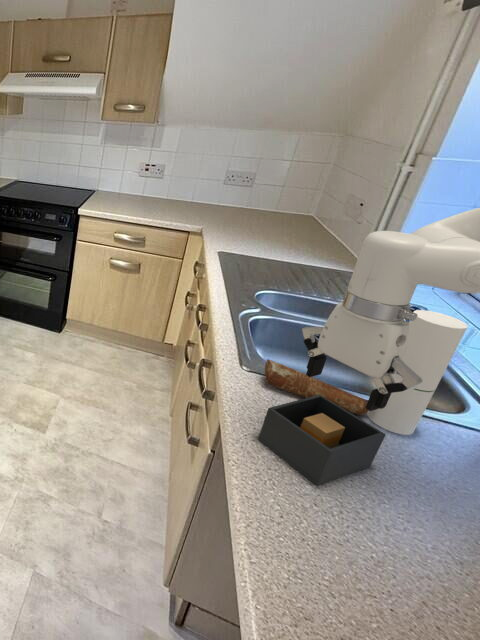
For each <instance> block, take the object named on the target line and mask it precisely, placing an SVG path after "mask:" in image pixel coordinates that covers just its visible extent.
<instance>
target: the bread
mask: <svg viewBox="0 0 480 640" xmlns="http://www.w3.org/2000/svg"><path fill="white" fill-rule="evenodd" d="M264 376H265V380H264V381H265V383H266V384H268V385H270V386H271V387H274V388H276V389H279V390H281V391H285V392H287V393H291V394H294V395H296V396H300V397H303V398H308V397H312V396H316V395H322V396H323V397H325V398H327V399H328V400H330V401H332V402H333V403H335V404H337V405H338V406H340V407H342V408H343V409H345V410H347V411H348V412H350V413H352V414H356V415H366V414H368V411H369V410H367V409H366V408H365V407H366V405H367V402H368V400H366V399H365V398H363V397H361V396H357V395H355V394H353V393H350V392H348V391H346V390H344V389H341V388H339V387H337V386H334V385H331V384H329V383H328V382H325V381H322V380H320V379H318V378H316V377H314V376H313V377H309V376H307V375H306V373H304V372H301V371H299V370H297V369H294V368H292V367H289V366H286V365H285V364H281V363H279V362H276V361H273V360H271V359H268V358H267V359H266V362H265V365H264Z"/></svg>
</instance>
